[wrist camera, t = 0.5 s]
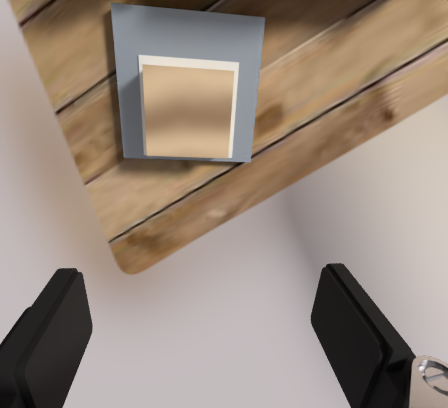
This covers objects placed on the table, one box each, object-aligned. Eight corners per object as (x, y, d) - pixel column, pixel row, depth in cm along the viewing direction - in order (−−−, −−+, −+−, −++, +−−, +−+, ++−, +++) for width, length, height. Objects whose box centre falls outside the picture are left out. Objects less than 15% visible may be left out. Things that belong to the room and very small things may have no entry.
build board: (114, 6, 30) (109, 2, 28) (262, 20, 31) (265, 17, 30) (126, 154, 36) (123, 158, 35) (248, 159, 38) (250, 162, 36)
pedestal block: (148, 65, 31) (142, 64, 27) (229, 71, 32) (234, 70, 28) (151, 147, 34) (146, 155, 31) (224, 150, 35) (228, 158, 32)
